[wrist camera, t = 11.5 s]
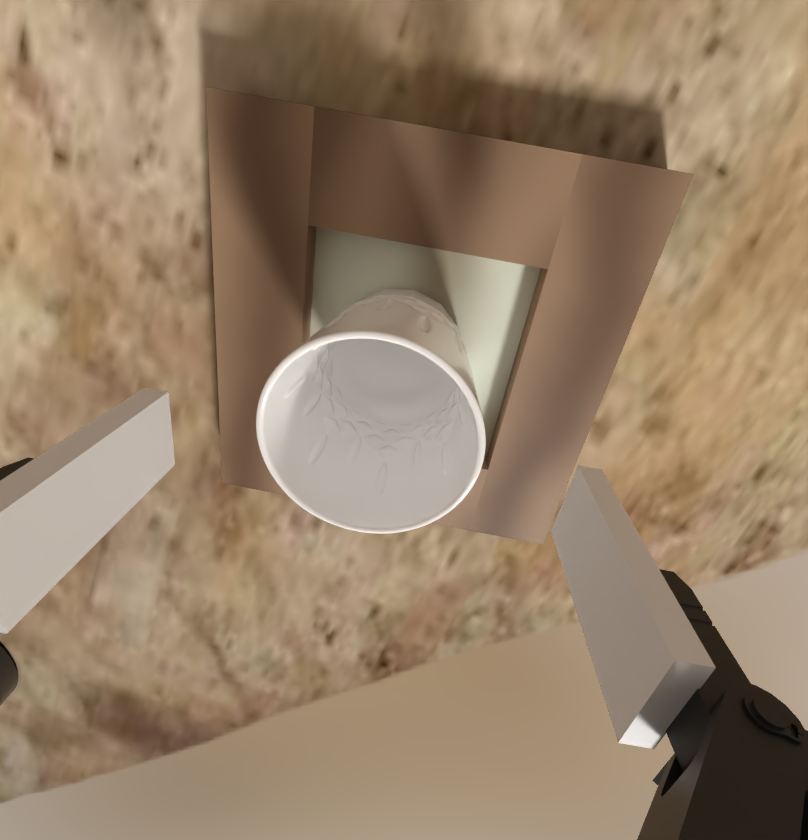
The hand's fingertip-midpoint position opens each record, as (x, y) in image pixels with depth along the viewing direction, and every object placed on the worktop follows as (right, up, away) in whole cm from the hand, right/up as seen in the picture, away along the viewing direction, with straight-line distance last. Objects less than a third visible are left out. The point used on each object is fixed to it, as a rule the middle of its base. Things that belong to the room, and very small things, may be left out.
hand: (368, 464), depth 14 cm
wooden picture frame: (+2, +6, +10) cm, 12 cm away
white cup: (+1, +5, +10) cm, 11 cm away
